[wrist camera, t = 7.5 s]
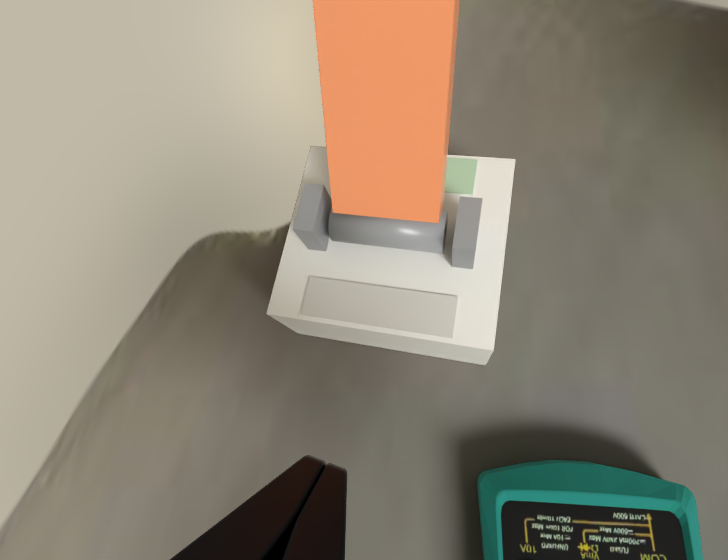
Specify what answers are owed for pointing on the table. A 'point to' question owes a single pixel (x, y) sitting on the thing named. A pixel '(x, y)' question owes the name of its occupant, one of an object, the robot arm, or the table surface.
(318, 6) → the lever
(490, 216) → the switch base
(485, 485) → the digital multimeter
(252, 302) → the table surface
